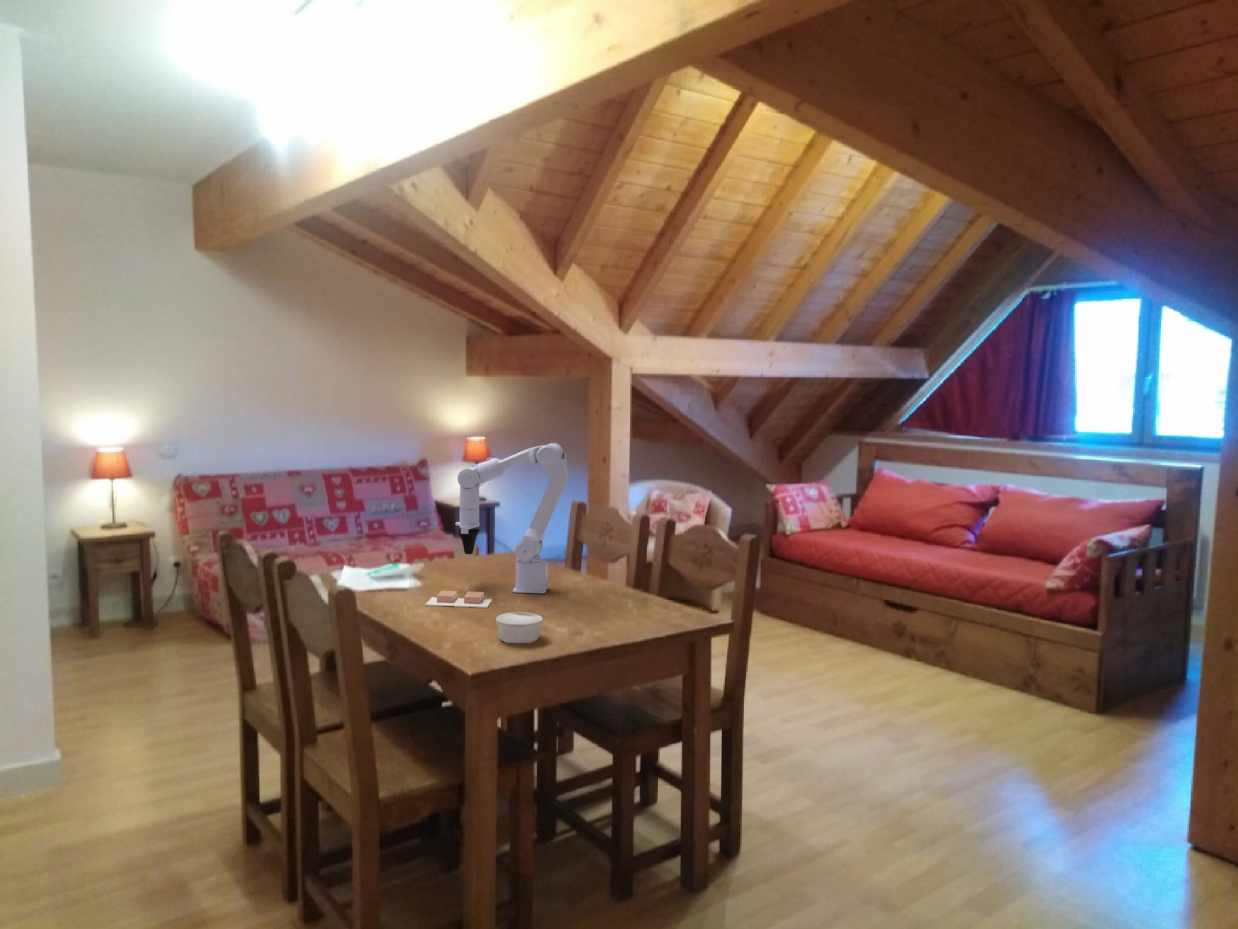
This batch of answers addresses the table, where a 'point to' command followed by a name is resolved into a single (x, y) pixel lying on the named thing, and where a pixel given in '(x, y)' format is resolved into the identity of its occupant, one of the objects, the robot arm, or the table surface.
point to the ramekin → (519, 627)
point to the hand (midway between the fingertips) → (468, 553)
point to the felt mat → (459, 603)
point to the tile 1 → (447, 596)
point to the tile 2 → (473, 597)
